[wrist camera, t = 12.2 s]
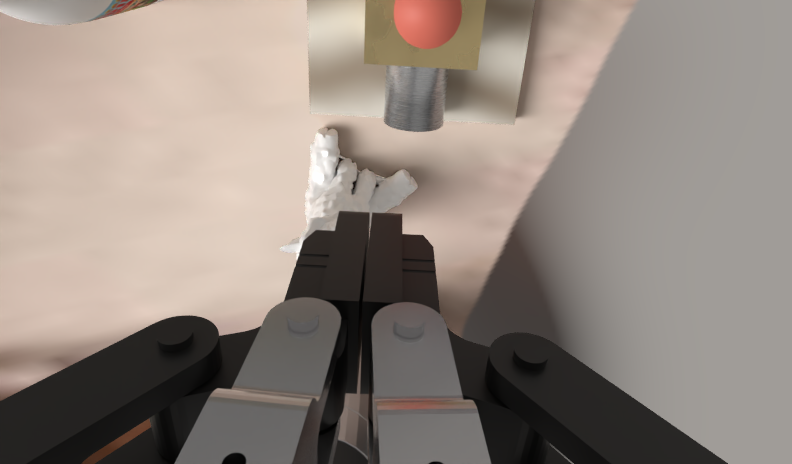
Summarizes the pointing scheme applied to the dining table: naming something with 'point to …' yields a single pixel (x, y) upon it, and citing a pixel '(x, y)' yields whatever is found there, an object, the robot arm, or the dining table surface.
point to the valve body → (419, 64)
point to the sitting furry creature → (344, 188)
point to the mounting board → (365, 83)
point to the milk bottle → (68, 10)
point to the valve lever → (427, 21)
